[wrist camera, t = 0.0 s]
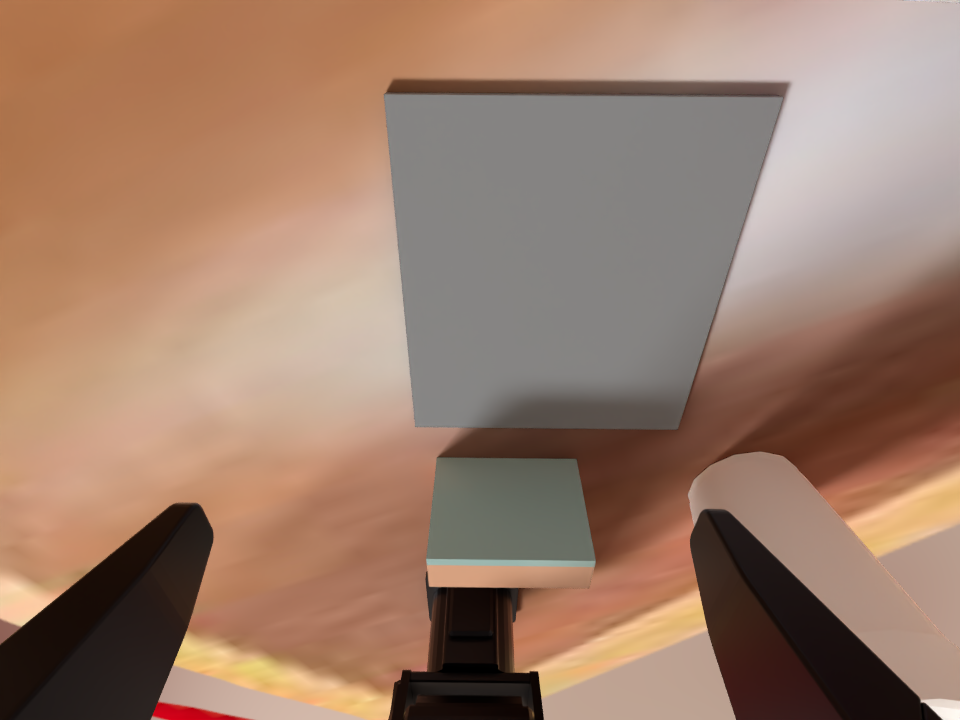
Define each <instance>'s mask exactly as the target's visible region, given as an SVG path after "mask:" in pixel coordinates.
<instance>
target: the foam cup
mask: <svg viewBox="0 0 960 720" xmlns="http://www.w3.org/2000/svg"><path fill="white" fill-rule="evenodd" d="M688 498H689V501H690V509H691V513H692V518H693V522H694V527H695V524H696V522H697V519H698V517H699V514H700V513H701V511H702V510H704V509H724V510H727V511H729V512H730V513H731V514H732V515H733V516H734V517H735V518H736V519H737V520H738V521H739V522H740V523H741V524H743V525H744V526H745V527H746V528H747V529H748V530H749V531H750V532H751V533H752V534H753V535H754V536H755V537H756V538H757V539H758V540H759V541H760V542H761V543H762V544H763V545H764V546H765V547H766V548H767V549H768V550H769V551H770V552H771V553H772V554H773V555H774V556H775V557H776V558H777V559H778V560H779V561H780V562H781V563H783V564H784V565H785V566H786V567H787V568H788V569H789V570H790V571H791V572H792V573H793V574H794V575H795V576H796V577H797V578H798V579H799V580H800V581H801V582H802V583H803V584H804V585H805V586H806V587H807V588H808V589H809V590H810V591H811V592H812V593H813V594H814V595H815V596H816V597H817V598H818V599H819V600H820V601H821V602H822V603H824V604H825V605H826V606H827V607H828V608H829V609H830V610H831V611H832V612H833V613H834V614H835V615H836V616H837V617H838V618H839V619H840V620H841V621H842V622H843V623H844V624H845V625H846V626H847V627H848V628H849V629H850V630H851V631H852V632H853V633H854V634H855V635H856V636H857V637H858V638H859V639H860V640H861V641H862V642H864V643H865V644H866V645H867V646H868V647H869V648H870V649H871V650H872V651H873V652H874V653H875V654H876V655H877V656H878V657H879V658H880V659H881V660H882V661H883V662H884V663H885V664H886V665H887V666H888V667H889V668H890V669H891V670H892V671H893V672H894V673H895V674H896V675H897V676H898V677H899V678H900V679H901V680H902V681H903V682H905V683H906V684H907V685H908V686H909V687H910V688H911V689H912V690H913V691H914V692H915V693H916V694H917V695H918V696H919V697H920V699H921V702H924V703H926V704H927V705H928V706H929V707H930V708H931V709H932V710H933V711H934V712H936V713H937V714H938V715H939V716H940V717H941V718H942V719H943V720H960V648H959V647H957V646H956V645H955V644H953V643H952V642H951V641H949V640H948V639H947V638H946V637H945V636H944V635H943V634H942V633H941V631H940V630H939V629H938V628H937V627H936V626H935V625H934V623H933V622H932V621H931V620H930V619H929V618H928V617H927V615H926V614H925V613H924V612H923V611H922V610H921V609H920V607H919V606H918V605H917V604H916V603H915V602H914V601H913V599H912V598H911V597H910V596H909V595H908V594H907V593H906V591H905V590H904V589H903V588H902V587H901V586H900V585H899V583H898V582H897V581H896V580H895V579H894V578H893V577H892V575H891V574H890V573H889V572H888V571H887V570H886V569H885V568H884V566H883V565H882V564H881V563H880V562H879V561H878V559H877V558H876V557H875V556H874V555H873V554H872V553H871V551H870V550H869V549H868V548H867V547H866V546H865V545H864V543H863V542H862V541H861V540H860V539H859V538H858V537H857V535H856V534H855V533H854V532H853V531H852V530H851V529H850V527H849V526H848V525H847V524H846V523H845V522H844V521H843V519H842V518H841V517H840V516H839V515H838V514H837V513H836V511H835V510H834V509H833V508H832V507H831V506H830V505H829V503H828V502H827V501H826V500H825V499H824V498H823V497H822V495H821V494H820V493H819V492H818V491H817V490H816V489H815V487H814V486H813V485H812V484H811V483H810V482H809V481H808V479H807V478H806V477H805V476H804V475H803V474H802V473H801V472H799V470H798V469H797V467H796V466H794V465H793V464H792V463H791V462H790V461H788V460H787V459H786V458H785V457H784V456H781V455H776V454H771V453H766V452H761V451H760V452H752V453H744V454H736V455H733V456H730V457H728V458H726V459H723V460H721V461H719V462H716V463H714V464H712V465H710V466H709V467H708V468H706V469H705V470H704V471H703V472H702V473H701V474H700V475H699V476H697V477H696V478H695V479H694V481H693V483H692V486H691V488H690V491H689V493H688Z"/></svg>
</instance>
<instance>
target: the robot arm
mask: <svg viewBox="0 0 960 720" xmlns="http://www.w3.org/2000/svg"><path fill="white" fill-rule="evenodd" d="M212 544H213V529H212V527H211V525H210V523H209V521H208V519H207V517H206V515H205V513H204V511H203V509H202V507H201V505H199V504H198V503H175V504H173V505H171V506H169V507H168V508H167V509H166V510H164V511H163V512H162V513H161V514H159V515H158V516H157V517H156V518H155V519H153V520H152V521H151V522H150V523H148V524H147V525H146V526H145V527H144V528H142V529H141V530H140V531H139V532H137V533H136V534H135V535H134V536H132V537H131V538H130V539H129V540H128V541H126V542H125V543H124V544H123V545H121V546H120V547H119V548H118V549H117V550H115V551H114V552H113V553H112V554H110V555H109V556H108V557H107V558H106V559H104V560H103V561H102V562H101V563H99V564H98V565H97V566H96V567H95V568H93V569H92V570H91V571H90V572H88V573H87V574H86V575H85V576H83V577H82V578H81V579H80V580H79V581H77V582H76V583H75V584H74V585H72V586H71V587H70V588H69V589H68V590H66V591H65V592H64V593H63V594H61V595H60V596H59V597H58V598H57V599H55V600H54V601H53V602H52V603H50V604H49V605H48V606H47V607H45V608H44V609H43V610H42V611H41V612H39V613H38V614H37V615H36V616H34V617H33V618H32V619H31V620H30V621H28V622H27V623H26V624H25V625H23V626H22V627H21V628H20V629H19V630H17V631H16V632H15V633H14V634H12V635H11V636H10V637H9V638H7V639H6V640H5V641H4V642H3V643H1V644H0V720H151V717H152V715H153V713H154V710H155V708H156V705H157V703H158V700H159V698H160V695H161V693H162V690H163V688H164V685H165V683H166V681H167V678H168V676H169V673H170V671H171V668H172V666H173V663H174V661H175V658H176V656H177V654H178V651H179V649H180V646H181V644H182V641H183V639H184V636H185V633H186V631H187V628H188V625H189V622H190V619H191V616H192V613H193V609H194V606H195V602H196V599H197V595H198V592H199V589H200V585H201V582H202V578H203V575H204V571H205V568H206V565H207V561H208V558H209V554H210V551H211V547H212ZM690 548H691V553H692V558H693V563H694V568H695V572H696V577H697V582H698V587H699V591H700V596H701V601H702V606H703V610H704V615H705V620H706V624H707V628H708V633H709V636H710V640H711V643H712V646H713V649H714V653H715V656H716V659H717V662H718V665H719V668H720V671H721V674H722V677H723V680H724V683H725V687H726V690H727V693H728V696H729V699H730V702H731V705H732V708H733V711H734V714H735V717H736V720H943V719H942V718H941V717H940V716H939V715H938V714H937V713H936V712H934V711H933V710H932V709H931V708H930V707H929V706H928V705H927V704H926V703H924V702H921V699H920V697H919V696H918V695H917V694H916V693H915V692H914V691H913V690H912V689H911V688H910V687H909V686H908V685H907V684H906V683H905V682H903V681H902V680H901V679H900V678H899V677H898V676H897V675H896V674H895V673H894V672H893V671H892V670H891V669H890V668H889V667H888V666H887V665H886V664H885V663H884V662H883V661H882V660H881V659H880V658H879V657H878V656H877V655H876V654H875V653H874V652H873V651H872V650H871V649H870V648H869V647H868V646H867V645H866V644H865V643H864V642H862V641H861V640H860V639H859V638H858V637H857V636H856V635H855V634H854V633H853V632H852V631H851V630H850V629H849V628H848V627H847V626H846V625H845V624H844V623H843V622H842V621H841V620H840V619H839V618H838V617H837V616H836V615H835V614H834V613H833V612H832V611H831V610H830V609H829V608H828V607H827V606H826V605H825V604H824V603H822V602H821V601H820V600H819V599H818V598H817V597H816V596H815V595H814V594H813V593H812V592H811V591H810V590H809V589H808V588H807V587H806V586H805V585H804V584H803V583H802V582H801V581H800V580H799V579H798V578H797V577H796V576H795V575H794V574H793V573H792V572H791V571H790V570H789V569H788V568H787V567H786V566H785V565H784V564H783V563H781V562H780V561H779V560H778V559H777V558H776V557H775V556H774V555H773V554H772V553H771V552H770V551H769V550H768V549H767V548H766V547H765V546H764V545H763V544H762V543H761V542H760V541H759V540H758V539H757V538H756V537H755V536H754V535H753V534H752V533H751V532H750V531H749V530H748V529H747V528H746V527H745V526H744V525H743V524H741V523H740V522H739V521H738V520H737V519H736V518H735V517H734V516H733V515H732V514H731V513H730V512H729V511H727V510H724V509H704V510H702V511H701V513H700V514H699V517H698V519H697V522H696V524H695V527H694V529H693V531H692V534H691V538H690ZM426 589H427V598H428V608H429V618H430V621H431V631H430V643H429V654H428V666H427V672H411V670H403V671H402V677H401V680H399V681H397V682H395V683H394V690H393V698H392V705H391V711H390V715H389V719H388V720H544V717H543V709H542V700H541V692H540V683H539V675H538V671H530V672H529V673H515V668H514V644H513V622H515V620H516V609H517V598H518V588H490V587H429V581H428V571H427V572H426Z"/></svg>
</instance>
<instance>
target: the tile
mask: <svg viewBox="0 0 960 720" xmlns="http://www.w3.org/2000/svg"><path fill="white" fill-rule="evenodd" d="M426 560H427V570H428V581H429V587H490V588H572V589H589V588H590V583H591V579H592V575H593V571H594V567H595V563H596V559H595V554H594V548H593V543H592V538H591V533H590V527H589V522H588V517H587V512H586V506H585V501H584V496H583V490H582V485H581V480H580V475H579V469H578V464H577V459H540V458H443V457H437V462H436V471H435V481H434V491H433V500H432V510H431V519H430V529H429V539H428V548H427V558H426Z"/></svg>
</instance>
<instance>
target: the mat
mask: <svg viewBox="0 0 960 720" xmlns="http://www.w3.org/2000/svg"><path fill="white" fill-rule="evenodd" d="M782 100H783V97H781V96H779V95H661V94H526V93H390V92H386V93H385V94H384V101H385V111H386V122H387V132H388V143H389V154H390V164H391V175H392V185H393V196H394V207H395V217H396V228H397V238H398V249H399V260H400V270H401V281H402V291H403V302H404V313H405V323H406V334H407V344H408V355H409V366H410V376H411V387H412V397H413V408H414V419H415V427H458V428H558V429H657V430H678V427H679V424H680V421H681V418H682V414H683V411H684V408H685V405H686V402H687V399H688V396H689V392H690V389H691V386H692V383H693V380H694V377H695V374H696V370H697V367H698V364H699V361H700V358H701V355H702V352H703V348H704V345H705V342H706V339H707V336H708V333H709V330H710V326H711V323H712V320H713V317H714V314H715V311H716V308H717V304H718V301H719V298H720V295H721V292H722V289H723V286H724V283H725V279H726V276H727V273H728V270H729V267H730V264H731V261H732V257H733V254H734V251H735V248H736V245H737V242H738V239H739V235H740V232H741V229H742V226H743V223H744V220H745V217H746V213H747V210H748V207H749V204H750V201H751V198H752V195H753V191H754V188H755V185H756V182H757V179H758V176H759V173H760V169H761V166H762V163H763V160H764V157H765V154H766V151H767V148H768V144H769V141H770V138H771V135H772V132H773V129H774V126H775V122H776V119H777V116H778V113H779V110H780V107H781V104H782Z"/></svg>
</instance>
